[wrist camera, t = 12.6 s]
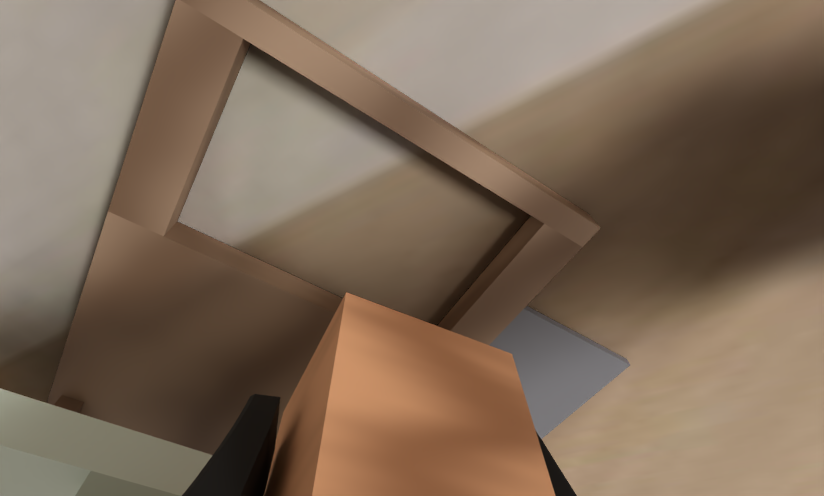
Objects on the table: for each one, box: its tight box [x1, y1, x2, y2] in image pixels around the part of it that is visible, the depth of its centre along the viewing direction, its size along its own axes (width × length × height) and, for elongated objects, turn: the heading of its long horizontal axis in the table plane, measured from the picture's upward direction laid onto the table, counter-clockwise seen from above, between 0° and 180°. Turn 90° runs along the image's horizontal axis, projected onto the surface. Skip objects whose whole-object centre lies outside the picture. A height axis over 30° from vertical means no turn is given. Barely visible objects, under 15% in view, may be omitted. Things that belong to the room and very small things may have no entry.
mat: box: [489, 306, 630, 439], centre depth 23 cm, size 9×9×1 cm
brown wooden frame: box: [47, 0, 600, 455], centre depth 18 cm, size 16×24×6 cm
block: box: [264, 292, 555, 496], centre depth 10 cm, size 5×5×6 cm
